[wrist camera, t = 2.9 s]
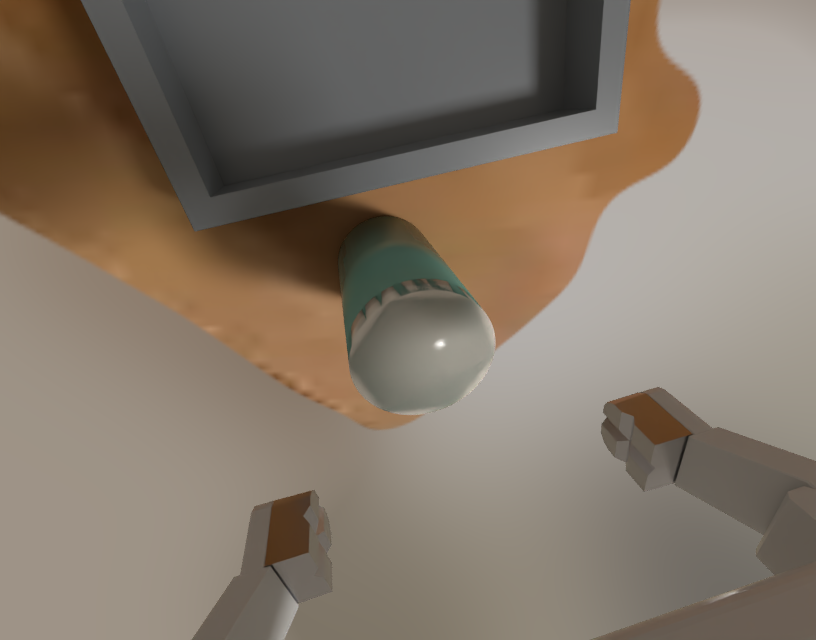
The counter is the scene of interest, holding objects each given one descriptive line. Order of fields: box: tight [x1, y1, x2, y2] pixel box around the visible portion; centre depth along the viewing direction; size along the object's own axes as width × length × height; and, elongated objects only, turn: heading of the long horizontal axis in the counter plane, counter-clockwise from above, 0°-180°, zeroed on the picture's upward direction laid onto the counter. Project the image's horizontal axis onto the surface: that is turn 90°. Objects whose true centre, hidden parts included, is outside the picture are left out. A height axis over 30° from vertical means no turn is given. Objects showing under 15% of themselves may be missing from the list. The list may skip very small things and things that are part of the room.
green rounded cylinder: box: [338, 216, 495, 415], centre depth 18 cm, size 6×6×10 cm
